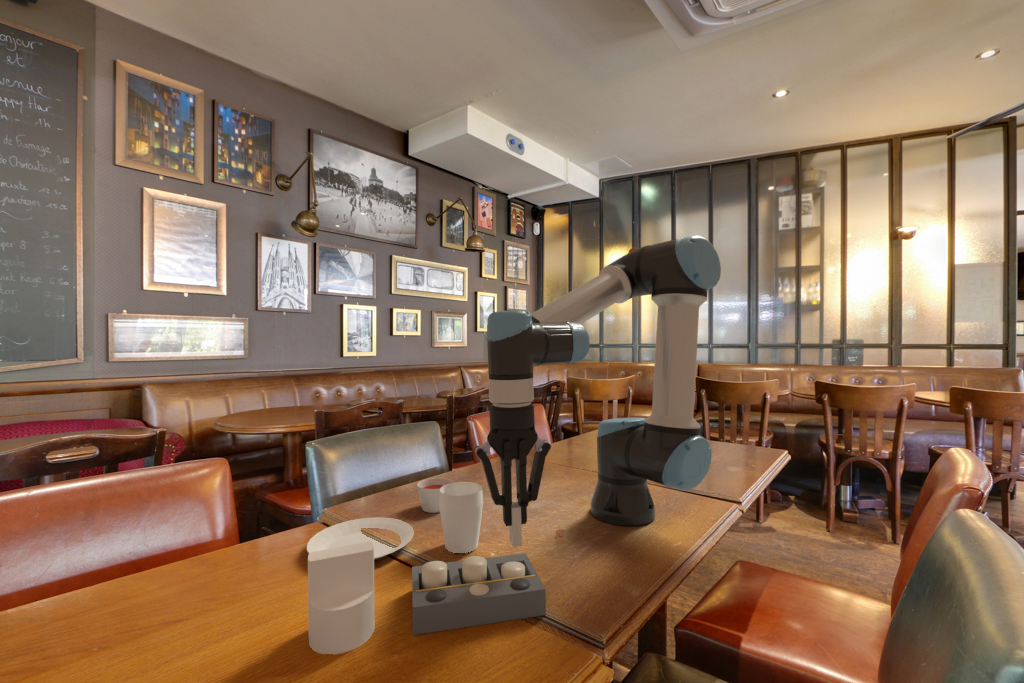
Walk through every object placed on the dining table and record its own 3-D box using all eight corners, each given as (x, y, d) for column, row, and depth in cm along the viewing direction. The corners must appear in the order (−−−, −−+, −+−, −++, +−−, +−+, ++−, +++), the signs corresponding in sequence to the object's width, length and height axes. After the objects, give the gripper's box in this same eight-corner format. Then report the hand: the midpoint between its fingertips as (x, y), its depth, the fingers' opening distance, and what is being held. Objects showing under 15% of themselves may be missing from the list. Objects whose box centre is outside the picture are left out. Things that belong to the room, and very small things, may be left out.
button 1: (521, 582, 78) (521, 560, 78) (527, 595, 74) (527, 571, 74) (499, 585, 77) (499, 563, 77) (504, 598, 73) (503, 575, 73)
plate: (345, 523, 105) (344, 514, 105) (429, 530, 101) (429, 521, 101) (282, 568, 85) (282, 556, 85) (384, 579, 80) (384, 567, 80)
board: (525, 575, 81) (525, 552, 81) (545, 614, 69) (545, 587, 69) (412, 590, 76) (412, 565, 76) (412, 635, 65) (412, 606, 65)
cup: (476, 559, 87) (476, 497, 87) (432, 555, 89) (432, 494, 89) (488, 539, 96) (487, 482, 96) (448, 535, 98) (447, 480, 98)
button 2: (484, 577, 76) (484, 554, 76) (488, 590, 72) (488, 566, 72) (461, 580, 75) (460, 557, 75) (464, 593, 71) (463, 569, 71)
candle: (440, 499, 120) (440, 475, 120) (460, 508, 114) (460, 483, 114) (410, 508, 114) (410, 483, 114) (429, 518, 107) (429, 491, 107)
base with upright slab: (308, 662, 59) (307, 572, 59) (309, 623, 68) (308, 544, 68) (378, 643, 63) (377, 558, 63) (371, 608, 71) (370, 533, 71)
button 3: (446, 582, 75) (445, 559, 75) (448, 595, 71) (448, 571, 71) (421, 585, 74) (421, 562, 74) (422, 599, 70) (422, 574, 70)
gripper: (542, 398, 80) (546, 528, 81) (469, 402, 77) (474, 538, 78) (555, 404, 73) (559, 548, 73) (476, 409, 70) (480, 559, 70)
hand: (515, 542), depth 76 cm, fingers closed
